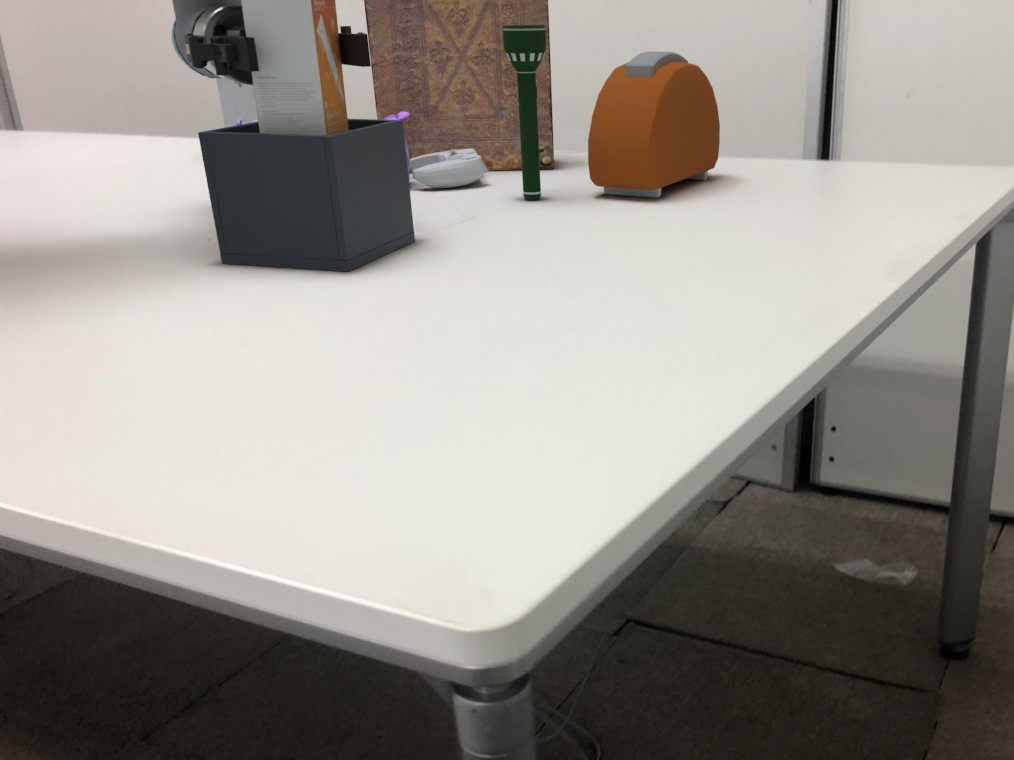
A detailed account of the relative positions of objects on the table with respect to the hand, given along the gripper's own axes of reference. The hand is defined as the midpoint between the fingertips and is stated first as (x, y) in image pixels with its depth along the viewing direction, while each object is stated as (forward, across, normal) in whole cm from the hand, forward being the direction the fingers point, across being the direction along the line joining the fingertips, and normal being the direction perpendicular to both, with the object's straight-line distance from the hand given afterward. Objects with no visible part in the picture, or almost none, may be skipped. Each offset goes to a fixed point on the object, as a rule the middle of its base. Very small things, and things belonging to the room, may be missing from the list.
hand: (310, 52), depth 90 cm
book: (-48, -38, -19) cm, 64 cm away
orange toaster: (-16, -50, -19) cm, 56 cm away
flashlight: (-18, -32, -19) cm, 41 cm away
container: (-76, -18, -19) cm, 80 cm away
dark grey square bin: (-4, 0, -19) cm, 19 cm away
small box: (-4, 0, -8) cm, 9 cm away
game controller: (-37, -29, -19) cm, 50 cm away
